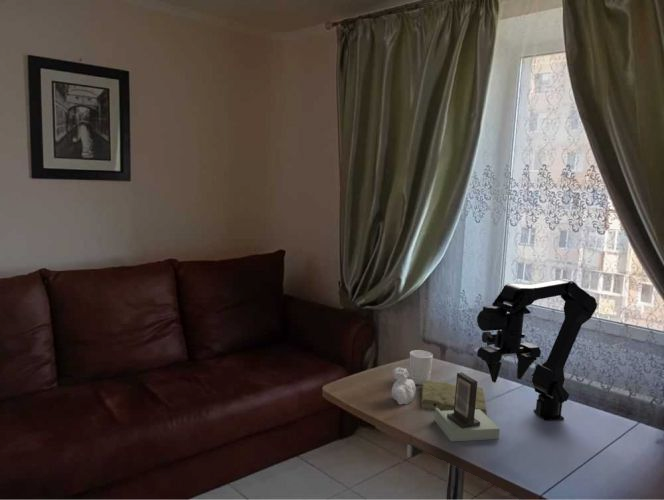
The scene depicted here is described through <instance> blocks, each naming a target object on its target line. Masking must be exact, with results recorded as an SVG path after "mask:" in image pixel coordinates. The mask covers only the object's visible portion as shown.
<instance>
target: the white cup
mask: <svg viewBox="0 0 664 500" xmlns="http://www.w3.org/2000/svg"><path fill="white" fill-rule="evenodd" d="M433 357H434V354H433V353H432V352H430V351H427V350H422V349H417V350H416V349H414V350H411V351H409V379H411V380H413V381H414V384H415V385H418V386H419V385H420V386H422V383H423V381H431V380H430V378H431V375H432V374H431V372H432V367H433V366H432V365H433Z"/></svg>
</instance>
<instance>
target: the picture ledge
mask: <svg viewBox="0 0 664 500" xmlns="http://www.w3.org/2000/svg"><path fill="white" fill-rule="evenodd" d="M451 413H454V410H448V411H440V409H439V408H435V410H434V423H436V425H437V426H438V427H439V428H440V430H441V431H442V432H443V433H444V434H445V436H446V437H447V439H448V440H449V441H450V442H464V441H480V440H481V441H483V440H484V441H485V440H498V439H500V427H499V426H498V425H496V424H495V422H494V421H493V420H491V419H490V418H489V417H488V415H487V416H486V415H485V414H484V413H483V412H482V411H481V410H480V409H475V415H474V418H475V419H476V420H478V421H479V422H480V426H474V427H469V428H463V429H462V428H460V427H459V426H458V425H457V424H455V423H454V422H453V421H451V420H450V419H449V418H447V414H451Z"/></svg>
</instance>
